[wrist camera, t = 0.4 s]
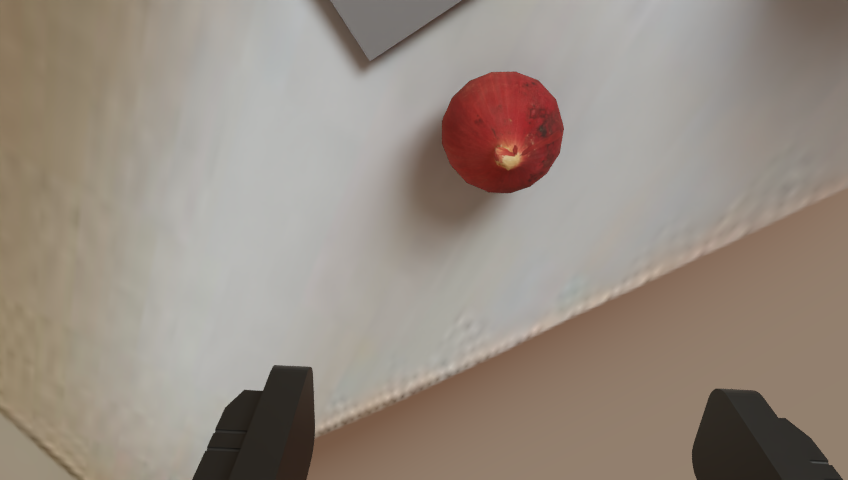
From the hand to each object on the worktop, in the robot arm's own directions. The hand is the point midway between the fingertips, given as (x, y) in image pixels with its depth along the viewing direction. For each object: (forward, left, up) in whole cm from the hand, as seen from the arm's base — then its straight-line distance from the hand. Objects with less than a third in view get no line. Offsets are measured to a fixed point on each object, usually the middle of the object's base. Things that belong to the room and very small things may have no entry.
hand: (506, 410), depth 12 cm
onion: (-2, +1, -23) cm, 23 cm away
